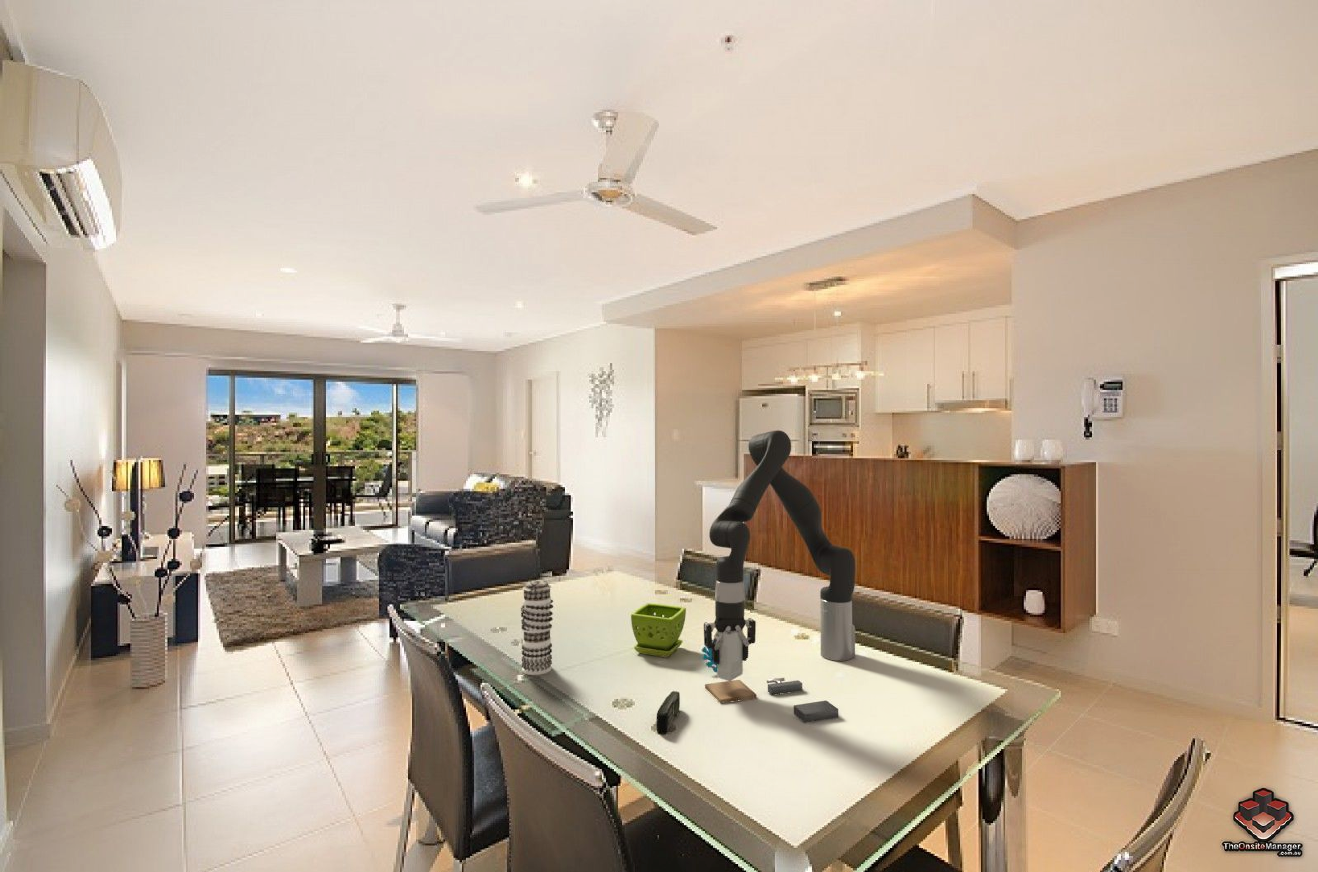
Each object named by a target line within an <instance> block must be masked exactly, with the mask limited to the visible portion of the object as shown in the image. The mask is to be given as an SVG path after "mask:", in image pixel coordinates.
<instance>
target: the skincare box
mask: <svg viewBox="0 0 1318 872" xmlns="http://www.w3.org/2000/svg"><path fill="white" fill-rule="evenodd" d="M743 630H744V629H743ZM743 630H742V632H743ZM743 633H744V632H743ZM721 634H722V632H721V633H720V632H719V631H718V637H720V636H721ZM718 650H719V664H717V672H716V677H717V678H719V679H721V680H724V681H733V680H734V679H735V680H736V679H737V678H738V677H740V676H743V674H744V673H743V672H744V671H743V670H744V669H743V667H744V665H743V663H744V661H743V642H742V640H741V638H740V636H739V634H738V632H737V631H729V633H724V641H723V643H721V645H720V647H719V648H718Z"/></svg>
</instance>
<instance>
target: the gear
mask: <svg viewBox="0 0 1318 872" xmlns="http://www.w3.org/2000/svg"><path fill="white" fill-rule="evenodd" d="M712 641H713V639H712ZM703 644H704V643H703ZM701 652H702V653H703V655H702V660H703V661H704V660H708V661H707V662H706V666H707V667H708V668H710V667H712V666H714V667H713V668H712V671H713V672H714V673H717V664H715V663H714V661H712V649H711V648H708V647H707V646H706V645H705V644H704V646H703V648H702V649H701Z"/></svg>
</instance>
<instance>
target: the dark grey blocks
mask: <svg viewBox="0 0 1318 872" xmlns="http://www.w3.org/2000/svg"><path fill="white" fill-rule="evenodd" d="M785 680H786V678H785V677H779V678H777V677H776V678H772V679H766V684H767V693H768V692H769V693H770V694H769V693H768V694H769V695H770V696H775V694H777V695H781V694H780V693H784V694H789V693H788V692H791V693H797V692H803V682H802V681H800V680H790V681H785ZM793 714H794V716H796V717H797V718H798V719H799V720H801V722H803V723H804V724H807V723H814V722H819V721H821V722H822V721H826V720H831V719H832V720H833V719H838V718H839V708H838V707H836V706H835V705H834V704H832V703H831V702H830V701H828V700H820V701H813V702H807V703H800V704H793Z"/></svg>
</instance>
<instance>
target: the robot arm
mask: <svg viewBox="0 0 1318 872" xmlns="http://www.w3.org/2000/svg"><path fill="white" fill-rule="evenodd" d="M747 448H748V452H749V455H750V457H751V459H752V462H754V464H755V465H756V467H755V468H754V469H753V471H751V473H749V475H747V476H746V477H745V478H744V479H743V480H742V482H740V484H739V485H738V486H737V489H736V490H735V492H734V494H733V496H732V498H731V500H730V502H729V504H728V505H726V507H725V508H724V509H723V510H722V511H721V512H720V514H719V515H717V517H716V518H715V519H714V521H713V522H712V523H711V526H710V527H709V534H708V535H709V541H710V543H712V545H714V546H715V547H719V548H726V549H727V548H728V549H730V553H729V555H727V556H726V555H725V556H721V557H719V558H717V560H716V562H715V564H716V565H715V567H716V568H715V570H716V571H715V576H716V577H715V579H716V582H715V590H714V591H715V593H714V594H715V597H714V598H715V601H714V602H715V607H714V608H715V611H714V612H715V613H714V614H715V615H714V617H715V620H714V621H713V622H707V621H706V622H704V623H703V641H704V643H703V644H705V645H706V646H707V647H708V648H711V649H712V661H714V663H715V664H719V650H718V648H719V647H720V645H721V643H723V641H724V633H729V631H737V632H738V634H739V636H740V638H741V640H742V642H743V662H746V661H747V659H748V658H749V646H750V645H752V644H755V643H756V631H757V629H756V628H757V627H756V626H757V622H756V620H754V619H752V618H751V617H749V618H747V619H745V585H744V563H745V560H746V556H747V555H746V554H747V551H748V547H749V546H750V545H749V544H750V540H751V533H750V529H749V527H748V525H747V524H746V522H749V521H751V520H752V518H753V517H754V515H755V513H756V511H757V508H758V507H759V504H760V502H761V500H762V498H763V496H764V494H765V492H766V491H767V489H768V487H769V486H771V488H772V489H773V492H774V493H775V494H776V495H777V497H778V499H779V501H780V503H781V504H782V506H783V508H784V510H785V511H786V512H787V515H788V516H789V518H790V520H791V522H792V524H794V526H795V527H796V530H797V531H798V533H799V535H800V537H801V538H802V540H803V541H804V544H805V546H806V547H807V550H808V552H809V554H810V557H811V559H812V562H813V563H814V565H815V567H816V569H817V570H818V571H819V572H821V573H822V574H824V575H827V576H829V578H830V579H829V585H828V586H824V587H822V588H821V589H820V591H819V592H820V593H819V594H820V596H819V597H820V598H819V600H820V601H819V602H820V656H821V657H822V658H825V659H827V660H832V661H841V662H842V661H843V662H844V661H849V660H851V659H852V658H856V627H855V625H854V624H853V594H854V591H855V586H856V585H855V584H856V560H855V556H854V554H853V551H852V550H850V549H848V548H846V547H843V546H838V545H833V543H832V542H831V541H830V540H829V539H828V537H827V535H826V534H825V532H824V530H823V526H822V510H821V507H820V505H819V503H818V501H817V499H816V498H815V495H814V494H813V493H812V490H811V489H809V487H808V486H807V485H805V484H804V483H803V482H801V481H799V480H798V479H797V478H796V477H794V476H793V475H791V474H790V473H788V472H787V471H786V469H784V467H783V466H784V464H785V463H786V462H787V460H788V458H789V457H790V455H791V452H792V441H791V439H790V437H789V435H788V434H787V433H786V432H785V431H783V430H771V431H767V432H763V433H759V434H756V435H753V436H751V437H750V439H749V441H748V447H747ZM745 627H746V629H747V630H746V631H747V632H746V633H747V634H746V635H745V634H744V632H742V630H744V628H745ZM714 629H715V630H716V631H715V633H714V635H712V634H713V632H714ZM718 631H719V632H720V633H721V632H722V634H721V636H720V637H718ZM712 637H713V638H712ZM712 640H713V641H712ZM705 645H704V646H705ZM706 646H705V647H706ZM707 647H706V648H707Z"/></svg>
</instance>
